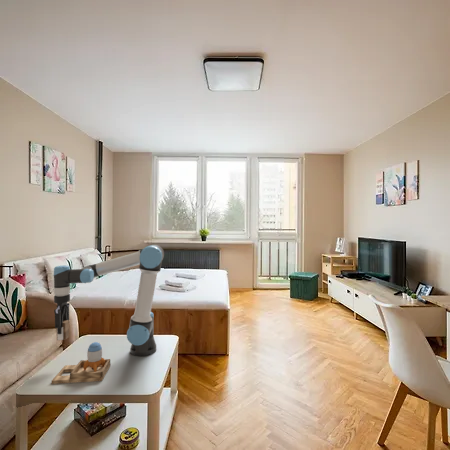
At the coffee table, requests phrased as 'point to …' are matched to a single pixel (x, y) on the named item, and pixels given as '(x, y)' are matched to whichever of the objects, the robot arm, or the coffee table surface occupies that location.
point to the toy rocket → (94, 357)
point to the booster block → (65, 329)
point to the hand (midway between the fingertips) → (62, 337)
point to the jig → (81, 373)
